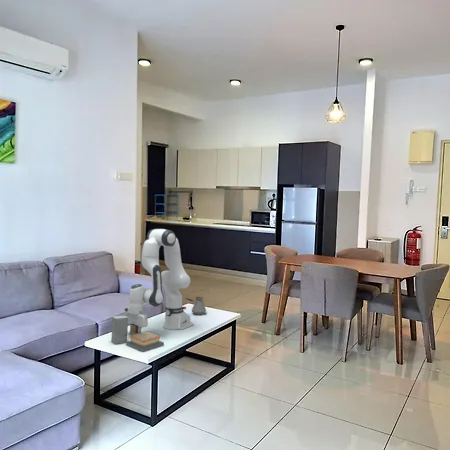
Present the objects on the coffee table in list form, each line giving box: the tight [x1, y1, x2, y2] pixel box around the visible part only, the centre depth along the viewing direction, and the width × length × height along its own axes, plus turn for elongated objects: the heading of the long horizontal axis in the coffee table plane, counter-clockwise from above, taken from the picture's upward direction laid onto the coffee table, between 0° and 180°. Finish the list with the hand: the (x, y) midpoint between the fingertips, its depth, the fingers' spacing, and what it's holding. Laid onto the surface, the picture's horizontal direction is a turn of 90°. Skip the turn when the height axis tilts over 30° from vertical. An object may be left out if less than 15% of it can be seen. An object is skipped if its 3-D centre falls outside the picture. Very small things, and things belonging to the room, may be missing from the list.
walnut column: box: [129, 323, 142, 337], centre depth 268 cm, size 5×5×8 cm
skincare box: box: [110, 315, 129, 345], centre depth 257 cm, size 8×7×16 cm
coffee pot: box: [183, 296, 207, 316], centre depth 323 cm, size 21×12×15 cm, turn 140°
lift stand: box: [125, 331, 165, 353], centre depth 252 cm, size 16×16×6 cm
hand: (135, 331), depth 268 cm, fingers closed on walnut column, 5 cm apart
